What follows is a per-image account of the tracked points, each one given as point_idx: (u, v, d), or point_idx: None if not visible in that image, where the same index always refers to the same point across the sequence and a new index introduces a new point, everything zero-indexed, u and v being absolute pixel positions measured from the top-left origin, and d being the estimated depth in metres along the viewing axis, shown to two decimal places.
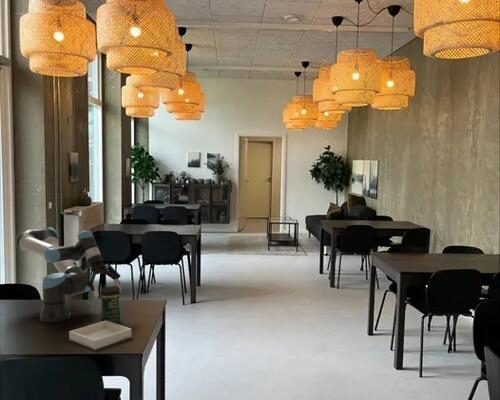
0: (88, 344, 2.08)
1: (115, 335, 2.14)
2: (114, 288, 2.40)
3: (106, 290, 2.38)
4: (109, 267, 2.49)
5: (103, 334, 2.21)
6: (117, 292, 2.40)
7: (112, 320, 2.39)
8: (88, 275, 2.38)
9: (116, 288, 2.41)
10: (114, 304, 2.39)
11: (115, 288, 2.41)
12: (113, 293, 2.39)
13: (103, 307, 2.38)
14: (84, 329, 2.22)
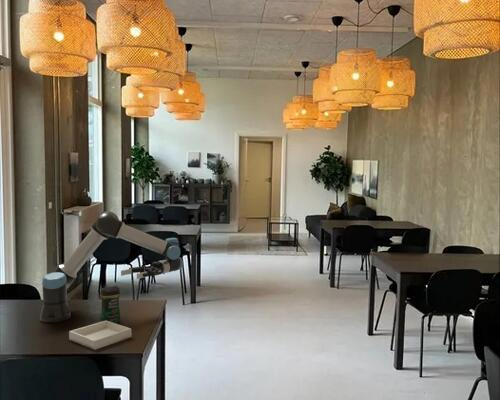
0: (88, 344, 2.08)
1: (115, 335, 2.14)
2: (114, 288, 2.40)
3: (106, 290, 2.38)
4: None
5: (103, 334, 2.21)
6: (117, 292, 2.40)
7: (112, 320, 2.39)
8: None
9: (116, 288, 2.41)
10: (114, 304, 2.39)
11: (115, 288, 2.41)
12: (113, 293, 2.39)
13: (103, 307, 2.38)
14: (84, 329, 2.22)
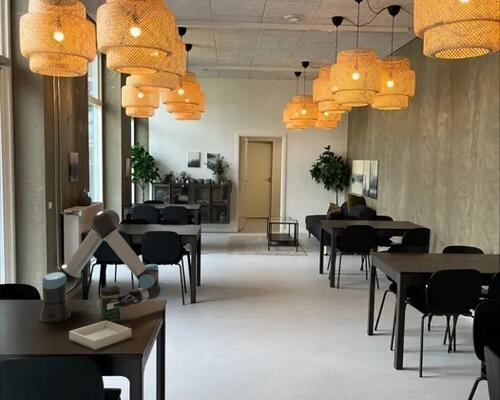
0: (88, 344, 2.08)
1: (115, 335, 2.14)
2: (114, 288, 2.40)
3: (106, 290, 2.38)
4: None
5: (103, 334, 2.21)
6: (117, 292, 2.40)
7: (112, 320, 2.39)
8: None
9: (116, 288, 2.41)
10: None
11: (115, 288, 2.41)
12: (113, 293, 2.39)
13: (103, 307, 2.38)
14: (84, 329, 2.22)
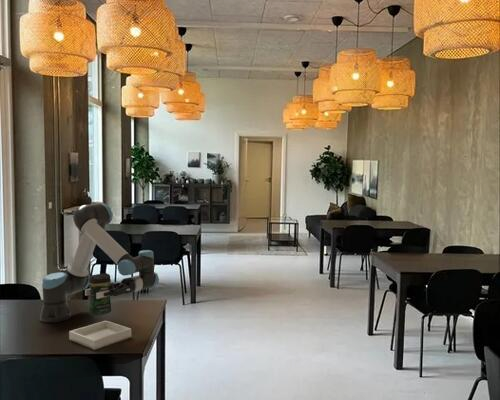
0: (88, 344, 2.08)
1: (115, 335, 2.14)
2: (104, 276, 2.17)
3: (95, 277, 2.14)
4: None
5: (103, 334, 2.21)
6: (108, 280, 2.16)
7: (102, 311, 2.15)
8: None
9: (106, 275, 2.17)
10: None
11: (105, 275, 2.17)
12: (103, 281, 2.15)
13: (92, 296, 2.15)
14: (84, 329, 2.22)
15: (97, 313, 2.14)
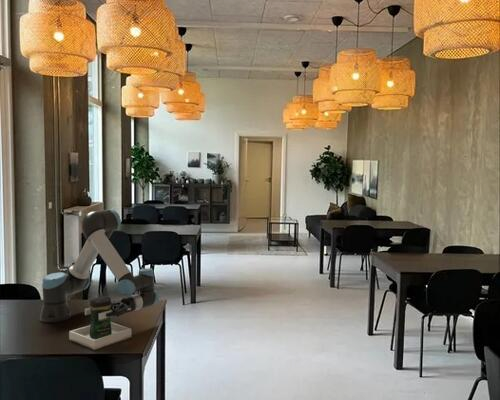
0: (88, 344, 2.08)
1: (115, 335, 2.14)
2: (105, 299, 2.17)
3: (96, 301, 2.14)
4: None
5: None
6: (108, 303, 2.17)
7: (102, 334, 2.16)
8: None
9: (107, 298, 2.18)
10: None
11: (106, 298, 2.17)
12: (104, 304, 2.15)
13: (92, 320, 2.15)
14: (84, 329, 2.22)
15: (97, 336, 2.15)
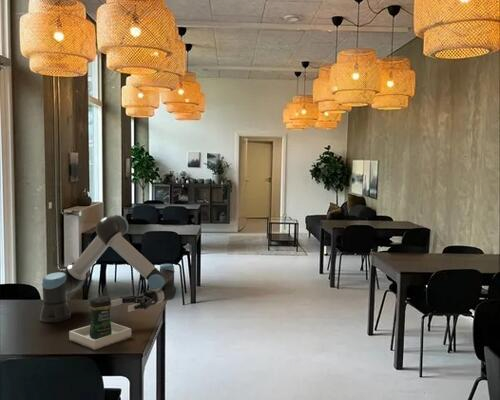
0: (88, 344, 2.08)
1: (115, 335, 2.14)
2: (104, 299, 2.17)
3: (96, 301, 2.14)
4: None
5: None
6: (108, 303, 2.17)
7: (102, 334, 2.16)
8: None
9: (107, 298, 2.18)
10: (105, 316, 2.16)
11: (106, 298, 2.18)
12: (104, 304, 2.15)
13: (92, 320, 2.15)
14: (84, 329, 2.22)
15: (97, 336, 2.15)
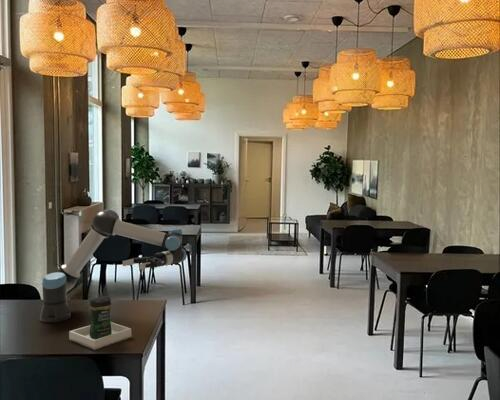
0: (88, 344, 2.08)
1: (115, 335, 2.14)
2: (104, 299, 2.17)
3: (96, 301, 2.14)
4: None
5: None
6: (108, 303, 2.17)
7: (102, 334, 2.16)
8: None
9: (107, 298, 2.18)
10: (105, 316, 2.16)
11: (106, 298, 2.18)
12: (104, 304, 2.15)
13: (92, 320, 2.15)
14: (84, 329, 2.22)
15: (97, 336, 2.15)
